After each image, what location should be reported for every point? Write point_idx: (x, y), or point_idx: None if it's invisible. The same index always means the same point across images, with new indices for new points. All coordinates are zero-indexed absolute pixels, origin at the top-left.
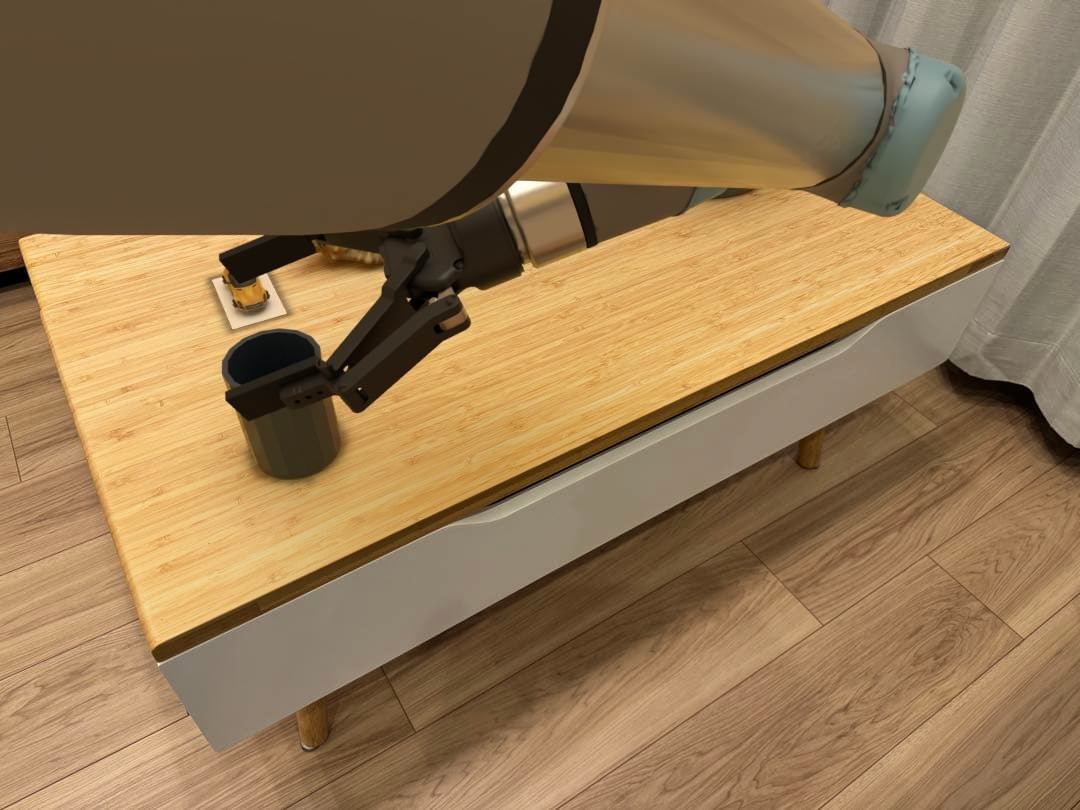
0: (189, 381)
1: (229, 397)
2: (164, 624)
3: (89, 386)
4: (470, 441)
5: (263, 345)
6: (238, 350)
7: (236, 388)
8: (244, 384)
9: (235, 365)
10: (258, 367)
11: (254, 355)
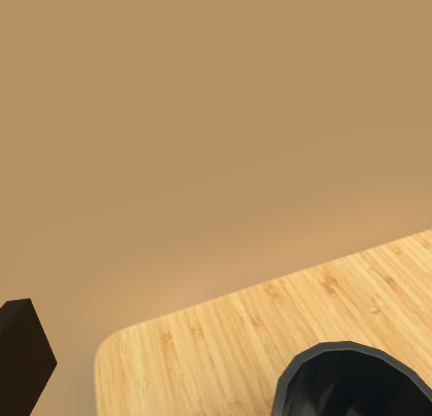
0: (416, 334)
1: (5, 307)
2: (106, 342)
3: (387, 254)
4: None
5: (421, 411)
6: (385, 365)
7: (13, 316)
8: (3, 329)
9: (361, 365)
10: (392, 408)
11: (400, 397)
